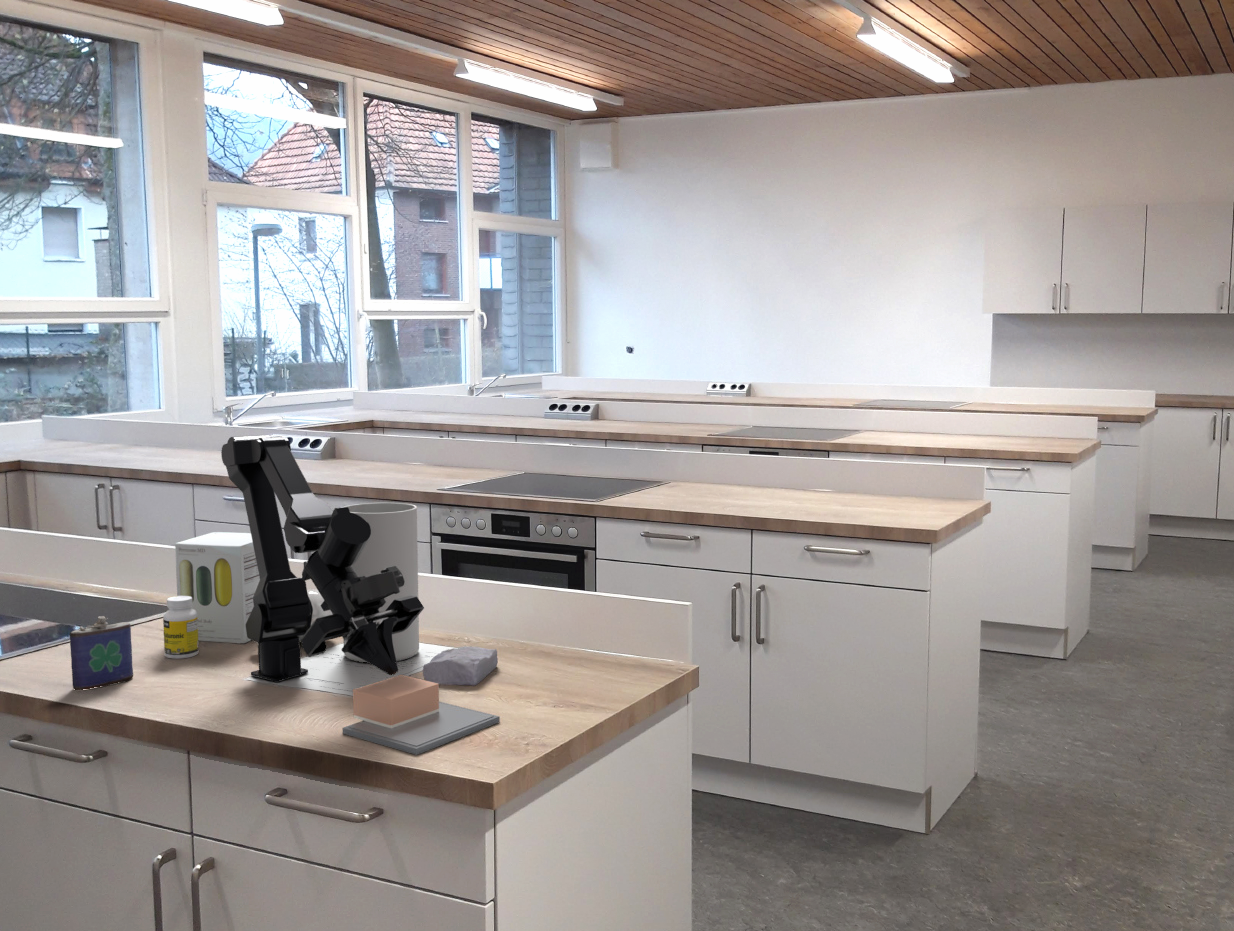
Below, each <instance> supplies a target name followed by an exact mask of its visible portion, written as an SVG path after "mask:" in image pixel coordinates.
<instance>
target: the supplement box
mask: <svg viewBox="0 0 1234 931" xmlns="http://www.w3.org/2000/svg"><path fill="white" fill-rule="evenodd" d="M174 548H175V549H174V550H175V568H176V569H175V573H176V574H175V575H176V594H177V595H176V596H190V597H192V606H191V609H194V610H195V611H196V612H197V619H198V642H210V643H211V642H213V643H214V642H215V643H228V644H229V643H230V644H246V643H248V642H250V641H252V640H251V639H249V638H248V637H247V632H246V626H245V625H246V622H247V620H248V618H249V616H250V614H251V611H252V609H253V607H254V603H253V596H254V594H255V591H256V589H257V586H258V583H259V581H260V576H259V571H258V566H257V561H256V556H255V551H254V546H253V541H252V536H251V532H249V533H248V532H224V531H223V532H222V531H213V532H209V533H205V534H202V535H198V536H195V537H192V538H189V539H185V540H182V541H179V542H175V544H174Z"/></svg>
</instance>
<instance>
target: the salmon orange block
mask: <svg viewBox="0 0 1234 931" xmlns="http://www.w3.org/2000/svg"><path fill="white" fill-rule="evenodd" d="M439 686H440V684H438V683H434V682H429V681H426V680H425V679H420V678H417V677H416V678H415V677H413V676H408V675H404V674H399V675H395V676H393V677H389V678H386V679H383V680H381V681H376V682H374V683H370V684H367V685H364V686H360V687H356V688H354V689H352V704H353V719H357V720H360V721H367V722H370V723H374V724H377V725H381V726H384V727H388V728H394V727H397V726H399V725H402V724H405V723H408V722H411V721H414V720H416V719H419V718H422V717H425V716H428V715H431V714H433V713H436V712H439V702H440V694H439V693H440V689H439V688H440V687H439Z"/></svg>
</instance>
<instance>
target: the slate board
mask: <svg viewBox="0 0 1234 931" xmlns="http://www.w3.org/2000/svg"><path fill="white" fill-rule="evenodd" d="M500 719H501V718H500V715H496V714H492V713H487V712H484V711H479V710H475V709H471V708H468V707H467V708H466V707H463V706H459V705H456V704H455V705H454V704H451V703H447V702H442V701H439V712H436V713H433V714H431V715H428V716H425V717H422V718H419V719H416V720H414V721H411V722H408V723H405V724H402V725H399V726H397V727H394V728H388V727H384V726H381V725H377V724H374V723H370V722H367V721H363V720H360V721H358V722H355V723H353V724H349V725H346V726H344V727H342V734H343V735H347V736H350V737H354V738H356V737H357V739H360V740H364V741H367V742H371V743H375V744H378V745H380V746H381V745H382V746H385V747H389V748H392V749H395V750H398V751H402V752H405V753H409V754H413V755H415V756H417V755H420V754H422V753H425V752H427V751H429V750H433V749H435V748H437V747H438V748H439V747H440V746H442V745H445V744H448V743H450V742H453V741H454V740H459V739H460V738H463V737H465V736H468V735H471V734H473V733H476V732H478V731H480V730H483V729H485V728H488V727H490V726H493V725H496V724H498V723H500V721H501V720H500Z"/></svg>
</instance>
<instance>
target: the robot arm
mask: <svg viewBox="0 0 1234 931" xmlns="http://www.w3.org/2000/svg"><path fill="white" fill-rule="evenodd" d="M291 447H292V446H291V442H290V440H289V439H288V437H283V436H280V435H279V436H270V435H268V434H264V435H263V434H261V435H242V436H241V435H240V436H230V437H229V439H228V440H227V443H224V444H222V446H221V450H220V451H221V456H220V457H221V460H222V464H223V465H224V466H225V468H226V472H227V476H228V479H229V480H230V482H232V483H233V484H234V486H236V487H237V488H238V489H239V490H240V492H242V495H243V500H244V506H245V512H246V515H247V521H248V526H249V530H250V533H251V536H252V541H253V546H254V551H255V556H256V561H257V566H258V571H259V576H260V581H259V583H258V586H257V589H256V591H255V594H254V596H253V603H254V607H253V609H252V611H251V614H250V616H249V618H248V620H247V622H246V625H245V626H246V632H247V637H248V638H249V639H251V640H250V641H252V642H255V643H257V653H258V657H257V658H258V669H257V670H253V671H251V672H250V676H252V677H256V678H260V679H264V680H266V681H271V682H280V681H285V680H287V679H291V678H294V677H298V676H302V675H305V674H308V673H309V670H308V669H307V668H303V667H302V659H301V658H302V657H301V654H302V652H301V650H302V649H303V651H304V653H305V654H306V656H307V657H308V658H311V657H314V656H318V655H323V654H324V653H326V651H327V646H328V644H327V643H326V641H330V640H334V639H338V638H342V639H344V642H345V645H344V644H343V646H342V648H341V652H342V653H343V654H344V653H345V652H348V653H351V654H353V655H355V656H357V657H359V658H361V659H363V660H365V661H367V662H368V663H367V664H370V665H372V666H373V667H376V668H377V669H379V670H380V671H382V672H384V673H386V675H389V676H393V675H396V674H397V673H398V671H399V667H398V661H396V657H395V652H394V647H393V641H392V634H395V633H399V632H403V631H404V630H406V629H407V628H408V627H409V626H410V625H411V624H412V622H413V621H414V620H415V619H416V618H417V616H418V615H420V614H421V613H422V611H423V610H424V609H425V607H424V605H423V604H422V601H420V599H419V597H418V598H417V597H416V596H407V597H403V598H399V599H395V600H393V602H392V603H391V604H390V605H389V607H388V608H387V609H386V610H385V611H384V612H380V613H379V610H378V609H379V608H380V607H383V605H384V604H385V603H386V601H385V599H384V598H386V597H388V596H390V595H392V594H397V593H399V592H400V590H399V588H400V587H402V586H404V583H405V581H404V578H403V575H402V573H401V572H400V571H399V569H398V568H397V567H396V566H392V567H387V568H386V569H384V570H381V573H380V574H376V575H372V576H369V577H365V576H362V577H358V576H357V575H356V573H355V571H354V570H353V568H352V567H351V565H353V564H354V563H355V562H356V561H357V559H358V558H359V556H360V554H361V552H362V550H363V548H364V547H365V545H366V543H367V541H368V539H369V537H370V535H371V528H370V525H369V523H368V522H366V521H365V520H364V519H363V518H362V517H361V516H359V515H357V514H354V513H350V511H349V508H348V507H345V506H341V507H335V508H334V509H333V508H332V507H331V505H330V504H329V503H328V502H325V501H324V500H323V499H320V498H318V497H316V494H314V493H313V491H312V489H311V486H310V484H309V483H308V481H307V479H306V478H305V476H304V474H303V472H302V469H301V468H300V466H299V465H298V464H299V463H298V462H297V460H296V458H295V457H294V455H293V453H292V451H291V450H292V448H291ZM277 500H278V502H279V504H280V505H281V508H282V509H283V512H284V514H285V521H284V525H283V527H282V522H281V518H280V513H279V508H278V502H277ZM285 542H286V543H285ZM286 544H287V545H288V546H289V547H290V549H291V551H292V552H294V553H295V554H303V553H304V554H305V553H311V554H310V556H309V557H308V559H307V560H306V561H303V563H302V564H303V569H302V572H301V577H298V576H296V574H294V573H293V571H292V570H291V566H290V562H289V557H288V551H287V546H286ZM309 580H311V581H312V583H313V584H314V586H315V589H317V590H318V591H319V593H320V594H321V596H322V598H323V599H324V602H323V603H322V604H321V608H322V609H323V611H327V610H331V612H332V614H333V615H329V616H325V617H321V618H316V620H315V621H314V622H313V624H312V625H311V621H312V614H313V607H312V604H311V601H310V599H309V597H308V593H307V590H308V588H307V582H306V581H309ZM302 635H304V636H303V637H302V643H301V647H300V642H299V637H297V636H302ZM301 648H302V649H301Z"/></svg>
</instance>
